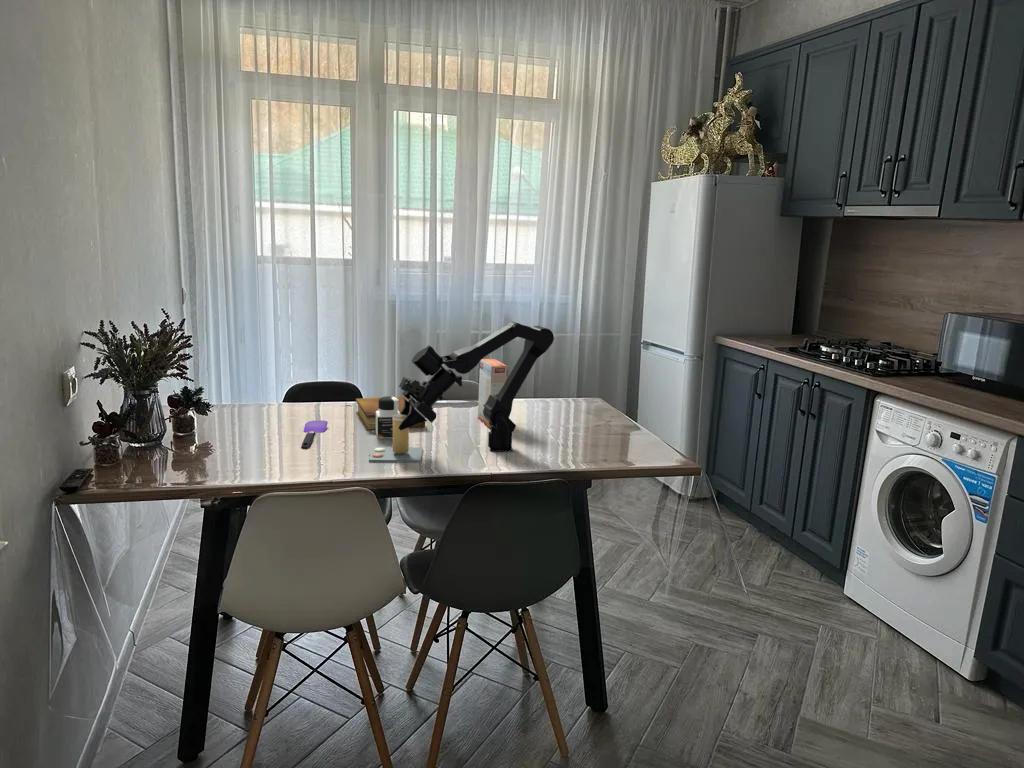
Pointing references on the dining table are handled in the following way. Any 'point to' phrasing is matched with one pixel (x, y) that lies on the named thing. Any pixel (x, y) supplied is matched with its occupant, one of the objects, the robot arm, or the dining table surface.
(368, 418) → the diary
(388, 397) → the medicine bottle
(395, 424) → the amber cup
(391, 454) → the card
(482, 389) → the cracker box
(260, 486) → the dining table surface
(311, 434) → the spatula
